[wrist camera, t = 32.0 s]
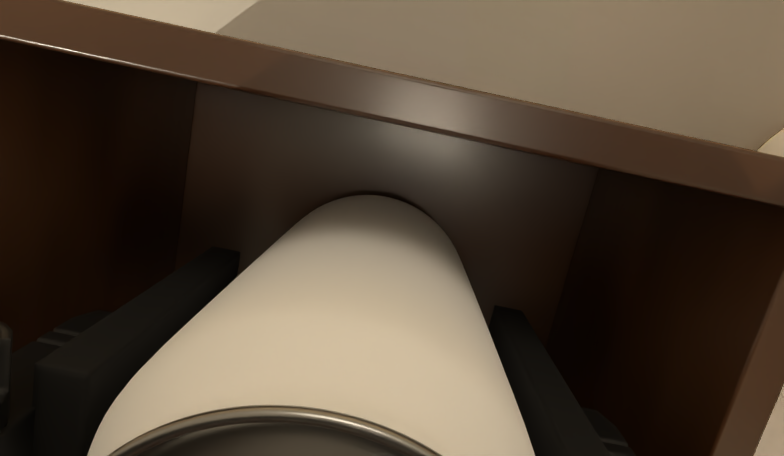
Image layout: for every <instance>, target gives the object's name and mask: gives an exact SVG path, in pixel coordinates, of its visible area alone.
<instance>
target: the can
mask: <svg viewBox="0 0 784 456" xmlns="http://www.w3.org/2000/svg"><path fill="white" fill-rule="evenodd" d="M87 456H535V453H534V450H533V448H532V445H531V442H530V439H529V436H528V433H527V430H526V427H525V424H524V421H523V418H522V416H521V413H520V410H519V408H518V405H517V402H516V400H515V397H514V394H513V392H512V389H511V386H510V384H509V381H508V379H507V376H506V374H505V371H504V368H503V366H502V363H501V361H500V358H499V355H498V353H497V350H496V348H495V345H494V342H493V340H492V337H491V335H490V332H489V330H488V327H487V325H486V322H485V319H484V317H483V314H482V312H481V309H480V307H479V304H478V302H477V299H476V297H475V294H474V292H473V289H472V287H471V284H470V282H469V279H468V277H467V274H466V272H465V269H464V267H463V264H462V262H461V260H460V257H459V255H458V253H457V251H456V249H455V247H454V245H453V244H452V242H451V240H450V239H449V237H448V236H447V235H446V233H445V232H444V231H443V230H442V229H441V227H440V226H439V225H438V224H437V223H436V222H435V221H434V220H433V219H431V218H430V217H429V216H428V215H426V214H425V213H424V212H422V211H421V210H419V209H417V208H415V207H414V206H412V205H410V204H407V203H405V202H403V201H400V200H397V199H393V198H389V197H385V196H377V195H356V196H349V197H344V198H340V199H337V200H334V201H331V202H329V203H327V204H324V205H322V206H320V207H318V208H317V209H315V210H313V211H312V212H310V213H309V214H308V215H306V216H305V217H304V218H302V219H301V220H300V221H299V222H298V223H296V224H295V225H294V226H293V227H292V228H291V229H290V230H288V231H287V232H286V233H285V234H284V235H283V236H282V237H281V238H279V239H278V240H277V241H276V242H275V243H274V244H273V245H272V246H271V247H269V248H268V249H267V250H266V251H265V252H264V253H263V254H262V255H261V256H260V257H258V258H257V259H256V260H255V261H254V262H253V263H252V264H251V265H250V266H249V267H248V268H246V269H245V270H244V271H243V272H242V273H241V274H240V275H239V276H238V277H237V278H235V279H234V280H233V281H232V282H231V283H230V284H229V285H228V286H227V287H226V288H225V289H223V290H222V291H221V292H220V293H219V294H218V295H217V296H216V297H215V298H214V299H213V300H212V301H211V302H209V303H208V304H207V305H206V306H205V307H204V308H203V309H202V310H201V311H200V312H199V313H198V314H196V315H195V316H194V317H193V318H192V319H191V320H190V321H189V322H188V323H187V324H186V325H185V326H184V327H183V328H181V329H180V330H179V331H178V332H177V333H176V334H175V335H174V336H173V337H172V338H171V339H170V340H169V341H168V342H167V343H166V344H164V345H163V346H162V347H161V348H160V349H159V350H158V351H157V352H156V353H155V355H154V356H153V357H152V358H151V359H150V360H149V361H148V362H147V363H146V364H145V365H144V366H143V367H142V368H141V369H140V370H139V371H138V372H137V373H136V374H135V375H134V376H133V378H132V379H131V380H130V381H129V382H128V384H127V385H126V386H125V387H124V389H123V390H122V391H121V393H120V394H119V395H118V396H117V398H116V399H115V400H114V402H113V403H112V405H111V406H110V408H109V409H108V411H107V413H106V414H105V416H104V418H103V420H102V421H101V423H100V425H99V427H98V430H97V432H96V434H95V436H94V439H93V441H92V444H91V446H90V449H89V452H88V455H87Z"/></svg>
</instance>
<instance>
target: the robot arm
mask: <svg viewBox="0 0 784 456" xmlns="http://www.w3.org/2000/svg"><path fill="white" fill-rule="evenodd" d="M240 253H241V252H238V251H234V250H229V249H224V248H219V247H215V246H212V247H211V248H209V249H208V250H206V251H205V252H203V253H202V254H200V255H199V256H197V257H196V258H194V259H193V260H191V261H190V262H188V263H187V264H185V265H184V266H182V267H181V268H179V269H178V270H176V271H175V272H173V273H172V274H170V275H168V276H167V277H165V278H164V279H162V280H161V281H159V282H158V283H156V284H155V285H153V286H152V287H150V288H149V289H147V290H146V291H144V292H143V293H141V294H140V295H138V296H137V297H135V298H134V299H132V300H131V301H129V302H128V303H126V304H125V305H123V306H122V307H120V308H119V309H117V310H116V311H114V312H108V311H103V310H96V311H92V312H89V313H85V314H82V315H79V316H75V317H72V318H71V319H69V320H67V321H66V322H64V323H62V324H61V325H59V326H57V327H55V328H54V329H53V331H49V332H47V333H45V334H44V335H42V336H40V337H39V338H37V341H32V342H30V343H29V344H27V345H25V346H24V347H22V348H20V349H19V350H17V351H15V352H14V353H12V345H13V330H12V329H11V328H10V327H9V326H8V324H6V323H4V322H1V321H0V456H87V455H88V452H89V449H90V446H91V444H92V441H93V439H94V436H95V434H96V432H97V430H98V427H99V425H100V423H101V421H102V420H103V418H104V416H105V414H106V413H107V411H108V409H109V408H110V406H111V405H112V403H113V402H114V400H115V399H116V398H117V396H118V395H119V394H120V393H121V391H122V390H123V389H124V387H125V386H126V385H127V384H128V382H129V381H130V380H131V379H132V378H133V376H134V375H135V374H136V373H137V372H138V371H139V370H140V369H141V368H142V367H143V366H144V365H145V364H146V363H147V362H148V361H149V360H150V359H151V358H152V357H153V356H154V355H155V353H156V352H157V351H158V350H159V349H160V348H161V347H162V346H163V345H164V344H166V343H167V342H168V341H169V340H170V339H171V338H172V337H173V336H174V335H175V334H176V333H177V332H178V331H179V330H180V329H181V328H183V327H184V326H185V325H186V324H187V323H188V322H189V321H190V320H191V319H192V318H193V317H194V316H195V315H196V314H198V313H199V312H200V311H201V310H202V309H203V308H204V307H205V306H206V305H207V304H208V303H209V302H211V301H212V300H213V299H214V298H215V297H216V296H217V295H218V294H219V293H220V292H221V291H222V290H223V289H225V288H226V287H227V286H228V285H229V284H230V283H231V282H232V281H233V280H234V279H235V278H237V273H238V267H239V260H240ZM488 330H489V332H490V335H491V337H492V340H493V342H494V345H495V348H496V350H497V353H498V355H499V358H500V361H501V363H502V366H503V368H504V371H505V374H506V376H507V379H508V381H509V384H510V386H511V389H512V392H513V394H514V397H515V400H516V402H517V405H518V408H519V410H520V413H521V416H522V418H523V421H524V424H525V427H526V430H527V433H528V436H529V439H530V442H531V445H532V448H533V450H534V453H535V456H636V454H635V453H634V452H633V450H632V449H631V447H628V443H627V441H626V440H625V438H624V437H623V436H622V434H621V433H620V431H619V430H618V428H617V427H616V426H615V425H614V424H613V423H611V422H610V421H609V420H608V419H607V418H606V417H604V416H603V415H602V414H601V413H600V412H599V411H597V410H594V409H589V408H584V407H580V405H579V403H578V402H577V400H576V398H575V397H574V395H573V394H572V392H571V390H570V389H569V387H568V385H567V384H566V382H565V380H564V379H563V377H562V376H561V374H560V372H559V371H558V369H557V367H556V366H555V364H554V362H553V361H552V359H551V358H550V356H549V354H548V353H547V351H546V349H545V348H544V346H543V344H542V343H541V341H540V340H539V338H538V336H537V335H536V333H535V331H534V330H533V328H532V326H531V325H530V323H529V321H528V320H527V318H526V317H525V315H524V313H523V312H522V311H521V310H516V309H511V308H507V307H502V306H497V305H495V306H494V310H493V313H492V317H491V321H490V324H489V328H488Z"/></svg>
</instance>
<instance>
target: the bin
mask: <svg viewBox="0 0 784 456" xmlns="http://www.w3.org/2000/svg"><path fill="white" fill-rule="evenodd" d="M356 195H377V196H385V197H389V198H393V199H397V200H400V201H403V202H405V203H407V204H410V205H412V206H414V207H415V208H417V209H419V210H421V211H422V212H424V213H425V214H426V215H428V216H429V217H430V218H431V219H433V220H434V221H435V222H436V223H437V224H438V225H439V226H440V227H441V229H442V230H443V231H444V232H445V233H446V235H447V236H448V237H449V239H450V240H451V242H452V244H453V245H454V247H455V249H456V251H457V253H458V255H459V257H460V260H461V262H462V264H463V267H464V269H465V272H466V274H467V277H468V279H469V282H470V284H471V287H472V289H473V292H474V294H475V297H476V299H477V302H478V304H479V307H480V309H481V312H482V314H483V317H484V319H485V322H486V325H487V327H488V328H489V324H490V321H491V317H492V313H493V310H494V306H495V305H497V306H502V307H507V308H511V309H516V310H521V311H522V312H523V313H524V315H525V317H526V318H527V320H528V321H529V323H530V325H531V326H532V328H533V330H534V331H535V333H536V335H537V336H538V338H539V340H540V341H541V343H542V344H543V346H544V348H545V349H546V351H547V353H548V354H549V356H550V358H551V359H552V361H553V362H554V364H555V366H556V367H557V369H558V371H559V372H560V374H561V376H562V377H563V379H564V380H565V382H566V384H567V385H568V387H569V389H570V390H571V392H572V394H573V395H574V397H575V398H576V400H577V402H578V403H579V405H580V407H584V408H589V409H594V410H597V411H599V412H600V413H601V414H602V415H603V416H604V417H606V418H607V419H608V420H609V421H610V422H611V423H613V424H614V425H615V426H616V427H617V428H618V430H619V431H620V433H621V434H622V436H623V437H624V438H625V440H626V441H627V443H628V447H631V449H632V450H633V452H634V453H635V454H636V456H753V455H754V453H755V451H756V448H757V446H758V444H759V441H760V439H761V436H762V434H763V432H764V429H765V427H766V425H767V422H768V420H769V418H770V415H771V413H772V410H773V408H774V406H775V403H776V401H777V399H778V396H779V394H780V392H781V389H782V387H783V384H784V157H781V156H776V155H772V154H767V153H763V152H758V151H753V150H749V149H744V148H740V147H735V146H730V145H726V144H721V143H717V142H712V141H707V140H703V139H698V138H694V137H689V136H684V135H680V134H675V133H671V132H666V131H661V130H657V129H652V128H648V127H643V126H638V125H634V124H629V123H625V122H620V121H615V120H611V119H606V118H602V117H597V116H592V115H588V114H583V113H579V112H574V111H569V110H565V109H560V108H556V107H551V106H546V105H542V104H537V103H533V102H528V101H523V100H519V99H514V98H510V97H505V96H500V95H496V94H491V93H487V92H482V91H477V90H473V89H468V88H464V87H459V86H454V85H450V84H445V83H441V82H436V81H431V80H427V79H422V78H418V77H413V76H408V75H404V74H399V73H395V72H390V71H385V70H381V69H376V68H372V67H367V66H362V65H358V64H353V63H349V62H344V61H339V60H335V59H330V58H326V57H321V56H316V55H312V54H307V53H303V52H298V51H293V50H289V49H284V48H280V47H275V46H270V45H266V44H261V43H257V42H252V41H247V40H243V39H238V38H234V37H229V36H224V35H220V34H215V33H211V32H206V31H201V30H197V29H192V28H188V27H183V26H178V25H174V24H169V23H165V22H160V21H155V20H151V19H146V18H142V17H137V16H132V15H128V14H123V13H119V12H114V11H109V10H105V9H100V8H96V7H91V6H86V5H82V4H77V3H73V2H68V1H63V0H0V321H1V322H4V323H6V324H8V326H9V327H10V328H11V329H12V330H13V345H12V353H14V352H15V351H17V350H19V349H20V348H22V347H24V346H25V345H27V344H29V343H30V342H32V341H37V338H39V337H40V336H42V335H44V334H45V333H47V332H49V331H53V329H54V328H55V327H57V326H59V325H61V324H62V323H64V322H66V321H67V320H69V319H71V318H72V317H75V316H79V315H82V314H85V313H89V312H92V311H96V310H103V311H108V312H114V311H116V310H117V309H119V308H120V307H122V306H123V305H125V304H126V303H128V302H129V301H131V300H132V299H134V298H135V297H137V296H138V295H140V294H141V293H143V292H144V291H146V290H147V289H149V288H150V287H152V286H153V285H155V284H156V283H158V282H159V281H161V280H162V279H164V278H165V277H167V276H168V275H170V274H172V273H173V272H175V271H176V270H178V269H179V268H181V267H182V266H184V265H185V264H187V263H188V262H190V261H191V260H193V259H194V258H196V257H197V256H199V255H200V254H202V253H203V252H205V251H206V250H208V249H209V248H211V247H212V246H215V247H219V248H224V249H229V250H234V251H238V252H241V253H240V260H239V267H238V273H237V277H238V276H239V275H240V274H241V273H242V272H243V271H244V270H245V269H246V268H248V267H249V266H250V265H251V264H252V263H253V262H254V261H255V260H256V259H257V258H258V257H260V256H261V255H262V254H263V253H264V252H265V251H266V250H267V249H268V248H269V247H271V246H272V245H273V244H274V243H275V242H276V241H277V240H278V239H279V238H281V237H282V236H283V235H284V234H285V233H286V232H287V231H288V230H290V229H291V228H292V227H293V226H294V225H295V224H296V223H298V222H299V221H300V220H301V219H302V218H304V217H305V216H306V215H308V214H309V213H310V212H312V211H313V210H315V209H317V208H318V207H320V206H322V205H324V204H327V203H329V202H331V201H334V200H337V199H340V198H344V197H349V196H356Z"/></svg>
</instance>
